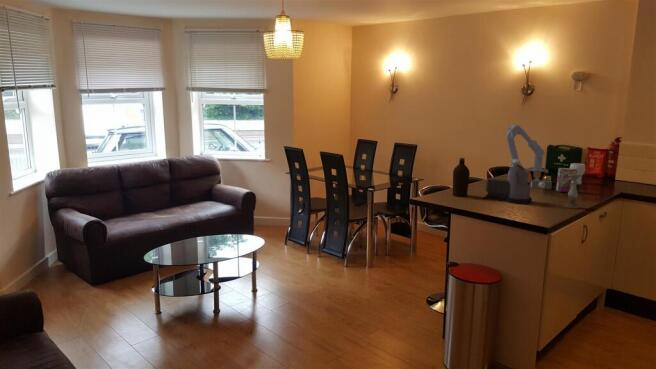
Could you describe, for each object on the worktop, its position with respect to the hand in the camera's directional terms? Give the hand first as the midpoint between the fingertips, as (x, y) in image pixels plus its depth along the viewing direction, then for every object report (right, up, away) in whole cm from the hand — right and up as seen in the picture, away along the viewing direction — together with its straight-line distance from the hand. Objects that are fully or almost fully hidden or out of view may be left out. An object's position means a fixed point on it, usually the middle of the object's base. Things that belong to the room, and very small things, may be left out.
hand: (536, 181), depth 385 cm
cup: (+31, -2, +3) cm, 31 cm away
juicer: (-43, -13, -61) cm, 75 cm away
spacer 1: (0, -1, 0) cm, 1 cm away
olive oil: (-71, -10, -48) cm, 86 cm away
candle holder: (-11, -16, -77) cm, 80 cm away
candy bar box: (+8, -8, -30) cm, 32 cm away
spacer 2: (+9, -1, +4) cm, 10 cm away
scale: (-2, -4, -13) cm, 13 cm away
